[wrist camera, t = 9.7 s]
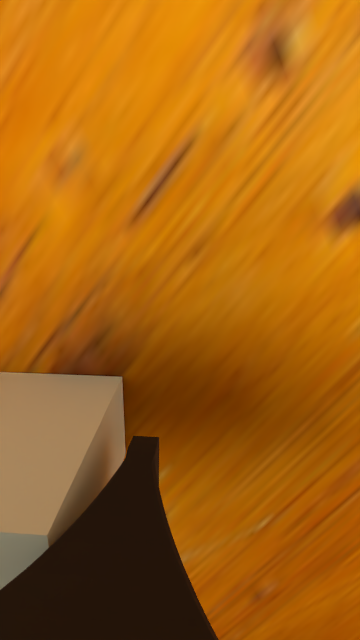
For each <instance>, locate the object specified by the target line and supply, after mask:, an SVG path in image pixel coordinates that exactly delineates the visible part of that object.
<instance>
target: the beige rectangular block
mask: <svg viewBox="0 0 360 640" xmlns="http://www.w3.org/2000/svg"><path fill="white" fill-rule="evenodd" d="M125 453H126V450H125V427H124V405H123V382H122V377H117V376H91V375H66V374H41V373H16V372H0V590H1V589H2V588H3V587H4V586H6V585H7V584H8V583H9V582H10V581H12V580H13V579H14V578H15V577H16V576H18V575H19V574H20V573H21V572H23V571H24V570H25V569H26V568H27V567H28V566H29V565H31V564H32V563H33V562H34V561H35V560H36V559H37V558H38V557H40V556H41V555H42V554H43V553H44V552H45V551H46V550H47V549H48V548H49V547H50V546H51V545H52V544H53V543H54V542H55V541H56V540H57V539H58V538H59V537H60V536H61V535H62V534H63V533H64V532H65V531H66V530H67V529H68V528H69V527H70V526H71V525H72V524H73V523H74V522H75V521H76V520H77V519H78V518H79V517H80V516H81V514H82V513H83V512H84V511H85V510H86V509H87V508H88V506H89V505H90V504H91V503H92V502H93V500H94V499H95V498H96V497H97V496H98V494H99V493H100V492H101V491H102V490H103V488H104V487H105V486H106V484H107V483H108V482H109V480H110V479H111V478H112V476H113V475H114V474H115V472H116V471H117V470H118V468H119V467H120V465H121V464H122V462H123V460H124V457H125Z"/></svg>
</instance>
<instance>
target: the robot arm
mask: <svg viewBox="0 0 360 640" xmlns="http://www.w3.org/2000/svg"><path fill="white" fill-rule="evenodd" d="M0 640H218V638H217V636H216V634H215V632H214V631H213V629H212V627H211V625H210V623H209V621H208V619H207V617H206V615H205V613H204V611H203V609H202V606H201V604H200V602H199V600H198V598H197V596H196V593H195V591H194V589H193V587H192V584H191V582H190V580H189V578H188V575H187V573H186V571H185V568H184V566H183V564H182V561H181V558H180V556H179V553H178V551H177V548H176V545H175V542H174V539H173V537H172V534H171V531H170V528H169V524H168V521H167V518H166V514H165V511H164V507H163V503H162V499H161V495H160V491H159V437H143V436H133V438H132V441H131V443H130V445H129V448H128V450H127V454H126V458H125V460H124V461H123V462H122V464H121V465H120V467H119V468H118V470H117V471H116V472H115V474H114V475H113V476H112V478H111V479H110V480H109V482H108V483H107V484H106V486H105V487H104V488H103V490H102V491H101V492H100V493H99V494H98V496H97V497H96V498H95V499H94V500H93V502H92V503H91V504H90V505H89V506H88V508H87V509H86V510H85V511H84V512H83V513H82V514H81V516H80V517H79V518H78V519H77V520H76V521H75V522H74V523H73V524H72V525H71V526H70V527H69V528H68V529H67V530H66V531H65V532H64V533H63V534H62V535H61V536H60V537H59V538H58V539H57V540H56V541H55V542H54V543H53V544H52V545H51V546H50V547H49V548H48V549H47V550H46V551H45V552H44V553H43V554H42V555H41V556H40V557H38V558H37V559H36V560H35V561H34V562H33V563H32V564H31V565H29V566H28V567H27V568H26V569H25V570H24V571H23V572H21V573H20V574H19V575H18V576H16V577H15V578H14V579H13V580H12V581H10V582H9V583H8V584H7V585H6V586H4V587H3V588H2V589H1V590H0Z"/></svg>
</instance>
